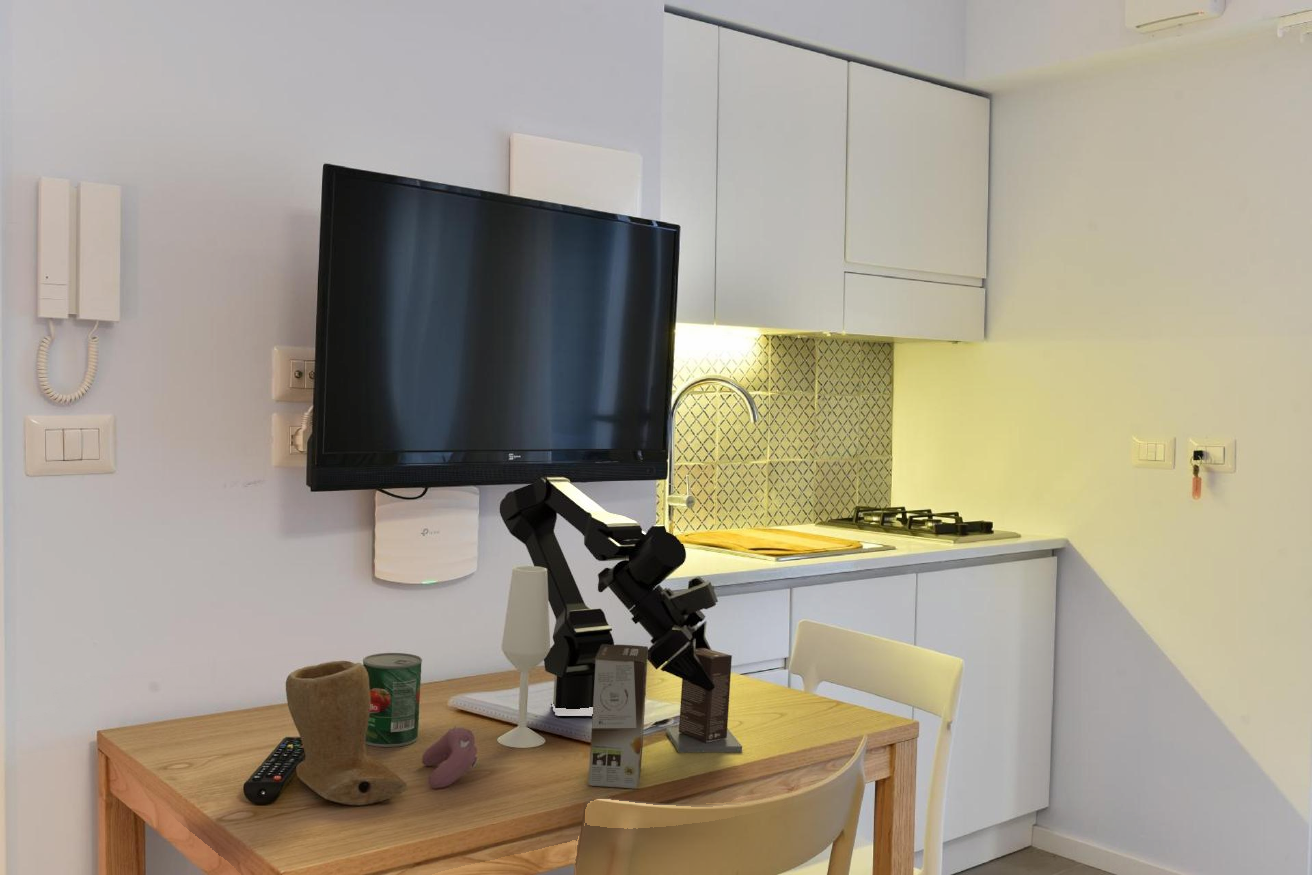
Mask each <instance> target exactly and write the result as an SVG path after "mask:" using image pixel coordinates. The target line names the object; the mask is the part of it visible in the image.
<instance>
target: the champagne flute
mask: <svg viewBox="0 0 1312 875" xmlns="http://www.w3.org/2000/svg"><path fill="white" fill-rule="evenodd" d="M511 570H512V572H511V579H510V584H509V592H508V598H507V607H506V613H505V614H506V615H505V620H504V628H503V635H502V642H501V651H502V653H503V655H504V656H505V658H506V659H507V660H508V662H510V664H511V665H512V666H513V667H514V668H515V669H516V670H518V671H519V673H520V678H519V695H518V696H519V697H518V698H519V699H518V716H517V726H515V727H514V728H513V729H510V730H509V731H508V732H505V733H503V734H502V735H500V736H498V738H497V739H496V740H497V742H498V744H500V745H503V746H506V747H511V748H517V749H518V748H520V749H523V748H525V749H528V748H535V747H539V746H542V745H544V744H545V742H546V738H544V737H543V736H541V735H540V734H538V733H537V732H535V731H533V730H532V729H530V728H528V726H527V722H528V721H527V718H528V702H529V701H528V699H529V698H528V697H529V678H530V671H532V670H534V669H535V668H536V667H538V666H539V665H540V664H541V663H542V662H544V659H545V657H546V656H547V655H548V653H549V651H550V648H551V633H550V632H551V631H550V613H549V612H550V609H549V608H550V606H549V605H550V603H549V601H548V580H547V569H546V568H543V567H536V566H534V565H533V566H532V565H518V566H517V565H516V566H514V567H512V569H511Z"/></svg>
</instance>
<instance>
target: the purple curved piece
mask: <svg viewBox="0 0 1312 875" xmlns="http://www.w3.org/2000/svg"><path fill="white" fill-rule="evenodd" d="M475 742H476V741H475V735H474V733H473V731H472V730H469V729H467V728H466V727H465V728H464V727H457V726H456V725H454V726H453V728H452V729H449V730H448V731H447V732H446V733H445V734H444V735H443V736H442V737H441V738H440V739H438V740H437V741H436V742H434V743H433V744H432V745H431V746H429V747H428V748H427V749H425V751H424V753H423V755H422V758H421V762H422V764H423V765H424V766H426V767H434V766H437V765H439V766H438V767H436V768H435V769H434V770H433V772H432V773H431V774H430V775H429V777H428V778H429V779H428V784H429V786H430V787H431V788H432V789H434V790H436V789H441V788H446V787H448V786H450V785H451V784H453V783H454V782H457V781H458V780H459V779H460V778H461V777H462V776H463V775H464V774H466V773H468V772H469V770H470V768H471V767H473V768H474V767H475V765H476V764H477V763H478V757H476V756H477V753H478V748H477V747H476V746H475V744H476V743H475Z"/></svg>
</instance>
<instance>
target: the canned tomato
mask: <svg viewBox="0 0 1312 875" xmlns="http://www.w3.org/2000/svg"><path fill="white" fill-rule="evenodd" d="M422 662H423V659H422V657H420V656H418V655H416V654H412V653H406V652H405V653H403V652H384V653H374V654H370V655H367V656H365V657H364V658H363V659H362V665H363V666H364V667H365V668H366V670H367V673H368V676H369V687H370V699H371V708H370V715H369V720H368V726H367V731H366V742H365V746H370V747H375V748H376V747H378V748H396V747H403V746H407V745H411V744H413V743H415V742H417V741H418V739H419V719H420V716H419V715H420V702H421V699H420V698H421V681H422V678H421V676H422Z"/></svg>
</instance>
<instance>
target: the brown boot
mask: <svg viewBox="0 0 1312 875" xmlns="http://www.w3.org/2000/svg"><path fill="white" fill-rule="evenodd" d="M285 692H286V700H287V706H288V711H289V713H290V716H291V719H292V721H293V723H294V726H295V727H296V730H297V732H298V735H299V738H300V740H301V744H302V747H303V751H304V754H305V757H304V760H303V761H301V762H300V763H298V764H297V765H296V770H295V771H296V772H295V773H296V775H297V776H298V778H299V780H301V782H302V783H304V784H305V785H306V786H307V787H308V788H310V789H311V790H313V792H315V793H316V794H317V795H318V796H320V797H322V798H323V799H325V800H327V801H331V802H335V803H339V804H344V805H350V806H364V805H366V806H367V805H372V804H375V803H380V802H382V801H386V800H389V799H391V798H394V797H395V796H397V795H398V796H399V794H402V793H403V792H405V791H406V790H407V788H408V783H407V782H406V781H405V780H403V779H402V778H401V777H400V776H399V775H398V774H397V773H396V772H394V771H393V770H391V769H390V768H389V767H388V766H386V765H384V763H382V762H381V761H380V760H378V759H376V758H375V757H373V756H371V755H369V754H367V750H366V749H367V748H366V747H367V746H366V744H365V742H366V731H367V726H368V720H369V715H370V708H371V699H370V687H369V676H368V673H367V670H366V668H365V667H364V666H363V663H361V662H356V663H355V662H352V661H348V660H336V661H327V662H322V663H320V664H316V665H315V664H313V665H308V666H307V665H306V666H303V667H302V668H297V669H295V670H294V671H293V672H290V673H289V674H288V676H287V677H286V680H285Z"/></svg>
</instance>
